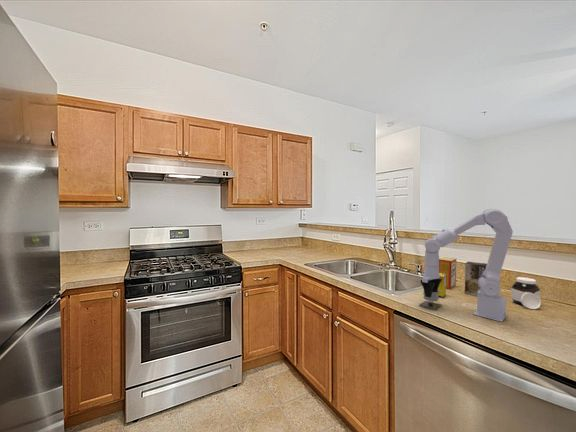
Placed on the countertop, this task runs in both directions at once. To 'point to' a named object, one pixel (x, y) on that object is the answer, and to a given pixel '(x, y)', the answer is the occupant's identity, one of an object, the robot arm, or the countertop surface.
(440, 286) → the supplement box
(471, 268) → the coffee box
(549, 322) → the countertop surface
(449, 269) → the baking soda box
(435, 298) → the octagonal tube
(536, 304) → the spread jar
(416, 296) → the countertop surface
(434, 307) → the square base with peg
